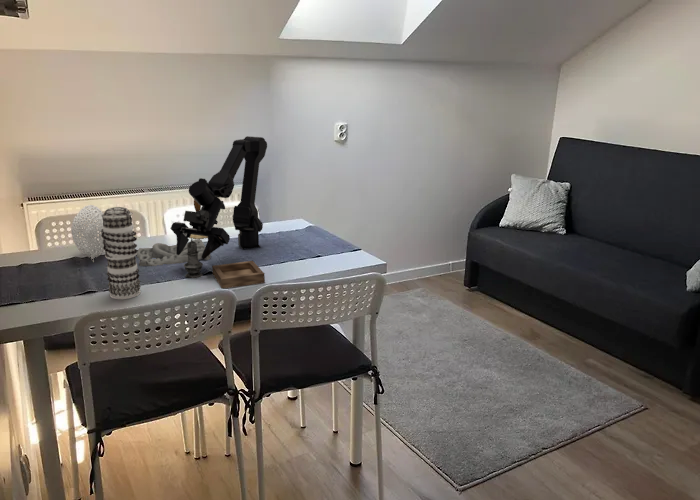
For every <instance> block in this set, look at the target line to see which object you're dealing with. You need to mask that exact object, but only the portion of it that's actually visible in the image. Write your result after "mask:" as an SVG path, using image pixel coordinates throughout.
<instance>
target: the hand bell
mask: <svg viewBox="0 0 700 500" xmlns="http://www.w3.org/2000/svg"><path fill="white" fill-rule="evenodd" d="M201 207H202V206H201V205H199V204H198V203H197V202H196V201H195V200H194V199H193V208H194V210H195V212H196V211H200V209H201ZM189 238H190V239H192V238H193V239H192V240H195V239H200V240H205V239H208V237H207V236H200V235H193V234H191V236H190V237H189ZM189 238H188V239H189ZM204 238H205V239H204Z"/></svg>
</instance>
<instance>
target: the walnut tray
mask: <svg viewBox="0 0 700 500" xmlns="http://www.w3.org/2000/svg"><path fill="white" fill-rule="evenodd" d="M211 266H212V267H211V268H212V270H211V271H212V276H213V278H214V279H215V281H216V282H217V283H218V284H219V287H220V288H221V289H222V288H223V289H229V288H230V289H231V288H235V287H243V286H253V285H260V284H265V283H266V282H265V273H264V271H262V269H261V268H260V267H259V266H258V265H257V264H256V263H255V262H254V260H247V261H239V262H233V263H232V262H231V263H223V264H215V265H211Z"/></svg>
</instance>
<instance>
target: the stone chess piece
mask: <svg viewBox="0 0 700 500" xmlns="http://www.w3.org/2000/svg"><path fill="white" fill-rule="evenodd" d="M187 249H188V252H187V255H188V262H184V264H183V267H184V270H185V271H186V272H187V273H186V274H185V276H184V277H185V278H186V279H199V278H201V277H203V273H202V272H201V270H202V269H203V265H204V263H203V262H201V261H199V260H198V252H197V244H196V242H194V241H193V239H192V238H190V240H189V241H188V244H187Z"/></svg>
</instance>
